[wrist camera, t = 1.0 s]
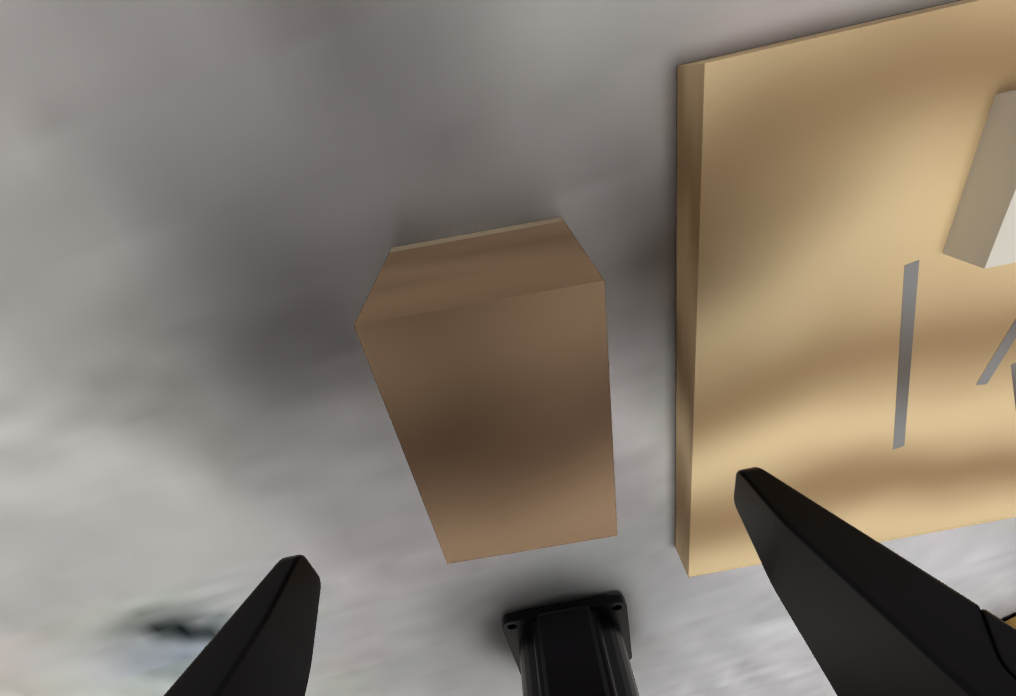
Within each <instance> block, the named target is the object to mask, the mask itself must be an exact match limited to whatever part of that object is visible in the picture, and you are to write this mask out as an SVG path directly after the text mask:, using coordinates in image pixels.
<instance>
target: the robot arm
mask: <svg viewBox="0 0 1016 696" xmlns="http://www.w3.org/2000/svg"><path fill="white" fill-rule="evenodd" d="M734 503H735V506H736V509H737V511H738V513H739V516H740V518H741V520H742V522H743V524H744V526H745V528H746V531H747V533H748V535H749V537H750V539H751V541H752V544H753V546H754V548H755V550H756V552H757V554H758V556H759V559H760V561H761V563H762V565H763V567H764V569H765V571H766V574H767V576H768V578H769V580H770V582H771V584H772V586H773V587H774V589H775V591H776V593H777V594H778V596H779V598H780V600H781V601H782V603H783V605H784V606H785V608H786V610H787V611H788V613H789V615H790V616H791V618H792V620H793V622H794V623H795V625H796V627H797V628H798V630H799V632H800V633H801V635H802V637H803V638H804V640H805V642H806V643H807V645H808V647H809V648H810V650H811V652H812V654H813V655H814V657H815V659H816V660H817V662H818V664H819V665H820V667H821V669H822V670H823V672H824V674H825V675H826V677H827V679H828V680H829V682H830V684H831V686H832V687H833V689H834V691H835V692H836V694H837V696H1016V629H1015V628H1014V627H1012V626H1010V625H1009V624H1007V623H1006V622H1004V621H1002V620H1001V619H999V618H998V617H996V616H995V615H993V614H991V613H990V612H988V611H987V610H984V609H982V610H980V608H979V606H978V605H977V604H975V603H974V602H972V601H971V600H969V599H967V598H966V597H964V596H963V595H961V594H959V593H958V592H956V591H955V590H953V589H952V588H950V587H948V586H947V585H945V584H944V583H942V582H941V581H939V580H937V579H936V578H934V577H933V576H931V575H929V574H928V573H926V572H925V571H923V570H922V569H920V568H918V567H917V566H915V565H914V564H912V563H910V562H909V561H907V560H906V559H904V558H903V557H901V556H899V555H898V554H896V553H895V552H893V551H892V550H890V549H888V548H887V547H885V546H884V545H882V544H880V543H879V542H877V541H876V540H874V539H873V538H871V537H869V536H868V535H866V534H865V533H863V532H862V531H860V530H858V529H857V528H855V527H854V526H852V525H850V524H849V523H847V522H846V521H844V520H843V519H841V518H839V517H838V516H836V515H835V514H833V513H831V512H830V511H828V510H827V509H825V508H824V507H822V506H820V505H819V504H817V503H816V502H814V501H813V500H811V499H809V498H808V497H806V496H805V495H803V494H801V493H800V492H798V491H797V490H795V489H794V488H792V487H790V486H789V485H787V484H786V483H784V482H783V481H781V480H779V479H778V478H776V477H775V476H773V475H771V474H770V473H768V472H767V471H765V470H763V469H762V468H759V467H752V468H747V469H742V470H739V471H738V472H737V473H736V479H735V488H734ZM320 589H321V583H320V578H319V576H318V574H317V573H316V571H315V570H314V568H313V567H312V566H311V564H310V563H309V562H308V560H307V559H306V558H305V556H303V555H295V556H290V557H285V558H283V559H281V560H280V561H279V562H278V563H277V564H276V565H275V566H274V567H273V569H272V570H271V571H270V572H269V573H268V574H267V576H266V577H265V578H264V579H263V580H262V581H261V583H260V584H259V585H258V586H257V587H256V588H255V590H254V591H253V592H252V593H251V594H250V595H249V597H248V598H247V599H246V600H245V601H244V602H243V604H242V605H241V606H240V607H239V608H238V609H237V611H236V612H235V613H234V614H233V615H232V617H231V618H230V619H229V620H228V621H227V622H226V624H225V625H224V626H223V627H222V628H221V629H220V631H219V632H218V633H217V634H216V635H215V636H214V638H213V639H212V640H211V641H210V642H209V643H208V645H207V646H206V647H205V648H204V649H203V650H202V652H201V653H200V654H199V655H198V656H197V657H196V659H195V660H194V661H193V662H192V663H191V664H190V666H189V667H188V668H187V669H186V670H185V671H184V673H183V674H182V675H181V676H180V677H179V678H178V680H177V681H176V682H175V683H174V684H173V685H172V687H171V688H170V689H169V690H168V691H167V692H166V694H165V695H164V696H305V692H306V687H307V683H308V678H309V673H310V668H311V661H312V654H313V646H314V638H315V630H316V622H317V614H318V605H319V597H320ZM502 624H503V631H504V633H505V636H506V638H507V641H508V643H509V646H510V648H511V651H512V653H513V656H514V658H515V661H516V663H517V666H518V668H519V671H520V673H521V677H522V689H523V696H639V693H638V690H637V686H636V682H635V679H634V675H633V671H632V668H631V664H630V661H629V660H630V659H631V658H632V652H631V643H630V633H629V623H628V614H627V605H626V602H625V599H624V596H622V595H610V596H605V597H599V598H594V599H588V600H583V601H577V602H572V603H566V604H561V605H556V606H550V607H545V608H539V609H534V610H528V611H523V612H517V613H512V614H508V615H505V616H504V617H503V618H502Z"/></svg>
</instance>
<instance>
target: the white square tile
mask: <svg viewBox="0 0 1016 696" xmlns="http://www.w3.org/2000/svg"><path fill="white" fill-rule="evenodd" d="M942 254H945V255H948V256H950V257H953V258H956V259H959V260H961V261H964V262H967V263H970V264H973V265H975V266H978V267H981V268H984V269H986V268H990V267H995V266H1000V265H1005V264H1010V263H1015V262H1016V90H1013V91H1008V92H1004V93H999V94H995V97H994V100H993V103H992V106H991V109H990V112H989V115H988V118H987V121H986V124H985V127H984V130H983V133H982V136H981V139H980V142H979V145H978V148H977V151H976V154H975V157H974V160H973V163H972V166H971V169H970V172H969V175H968V178H967V181H966V184H965V187H964V190H963V193H962V196H961V199H960V202H959V205H958V208H957V211H956V214H955V217H954V220H953V223H952V226H951V229H950V232H949V235H948V238H947V241H946V244H945V247H944V250H943V253H942Z"/></svg>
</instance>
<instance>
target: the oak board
mask: <svg viewBox="0 0 1016 696" xmlns="http://www.w3.org/2000/svg"><path fill="white" fill-rule="evenodd" d="M1013 90H1016V0H961V1H957V2H953V3H948V4H944V5H940V6H935V7H931V8H927V9H922V10H918V11H913V12H909V13H905V14H900V15H896V16H892V17H887V18H883V19H879V20H874V21H870V22H866V23H861V24H857V25H853V26H848V27H844V28H840V29H835V30H831V31H826V32H822V33H818V34H813V35H809V36H805V37H800V38H796V39H792V40H787V41H783V42H779V43H774V44H770V45H766V46H761V47H757V48H753V49H748V50H744V51H739V52H735V53H731V54H726V55H722V56H718V57H713V58H709V59H705V60H700V61H696V62H692V63H687V64H683V65H679V66H677V298H676V545H675V548H676V550H677V552H678V554H679V557H680V559H681V561H682V563H683V566H684V568H685V570H686V572H687V575H688V577H692V576H698V575H703V574H709V573H714V572H720V571H725V570H731V569H736V568H741V567H747V566H752V565H758V564H762V563H761V561H760V559H759V556H758V554H757V552H756V550H755V548H754V546H753V544H752V541H751V539H750V537H749V535H748V533H747V531H746V528H745V526H744V524H743V522H742V520H741V518H740V516H739V513H738V511H737V509H736V506H735V503H734V488H735V479H736V473H737V472H738V471H739V470H742V469H747V468H752V467H759V468H762V469H763V470H765V471H767V472H768V473H770V474H771V475H773V476H775V477H776V478H778V479H779V480H781V481H783V482H784V483H786V484H787V485H789V486H790V487H792V488H794V489H795V490H797V491H798V492H800V493H801V494H803V495H805V496H806V497H808V498H809V499H811V500H813V501H814V502H816V503H817V504H819V505H820V506H822V507H824V508H825V509H827V510H828V511H830V512H831V513H833V514H835V515H836V516H838V517H839V518H841V519H843V520H844V521H846V522H847V523H849V524H850V525H852V526H854V527H855V528H857V529H858V530H860V531H862V532H863V533H865V534H866V535H868V536H869V537H871V538H873V539H874V540H876V541H877V542H883V541H888V540H894V539H899V538H905V537H910V536H916V535H921V534H926V533H932V532H937V531H943V530H948V529H954V528H959V527H964V526H970V525H975V524H981V523H986V522H992V521H997V520H1003V519H1008V518H1013V517H1016V262H1015V263H1010V264H1005V265H1000V266H995V267H990V268H986V269H984V268H981V267H978V266H975V265H973V264H970V263H967V262H964V261H961V260H959V259H956V258H953V257H950V256H948V255H945V254H942V253H943V250H944V247H945V244H946V241H947V238H948V235H949V232H950V229H951V226H952V223H953V220H954V217H955V214H956V211H957V208H958V205H959V202H960V199H961V196H962V193H963V190H964V187H965V184H966V181H967V178H968V175H969V172H970V169H971V166H972V163H973V160H974V157H975V154H976V151H977V148H978V145H979V142H980V139H981V136H982V133H983V130H984V127H985V124H986V121H987V118H988V115H989V112H990V109H991V106H992V103H993V100H994V97H995V94H999V93H1004V92H1008V91H1013Z"/></svg>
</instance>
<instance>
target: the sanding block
mask: <svg viewBox="0 0 1016 696" xmlns="http://www.w3.org/2000/svg"><path fill="white" fill-rule="evenodd" d="M354 327H355V329H356V332H357V334H358V337H359V340H360V342H361V345H362V347H363V350H364V352H365V355H366V357H367V360H368V362H369V365H370V368H371V370H372V373H373V375H374V378H375V380H376V383H377V385H378V388H379V391H380V393H381V396H382V398H383V401H384V403H385V406H386V408H387V411H388V413H389V416H390V419H391V421H392V424H393V426H394V429H395V431H396V434H397V436H398V439H399V441H400V444H401V447H402V449H403V452H404V454H405V457H406V459H407V462H408V464H409V467H410V469H411V472H412V475H413V477H414V480H415V482H416V485H417V487H418V490H419V492H420V495H421V497H422V500H423V503H424V505H425V508H426V510H427V513H428V515H429V518H430V520H431V523H432V525H433V528H434V531H435V533H436V536H437V538H438V541H439V543H440V546H441V548H442V551H443V553H444V556H445V559H446V561H447V564H449V563H455V562H461V561H467V560H473V559H479V558H485V557H491V556H497V555H503V554H509V553H515V552H521V551H527V550H533V549H539V548H545V547H551V546H557V545H563V544H569V543H575V542H581V541H587V540H593V539H599V538H605V537H611V536H617V518H616V499H615V479H614V459H613V439H612V420H611V400H610V380H609V361H608V341H607V321H606V301H605V282H604V279H603V278H602V276H601V275H600V273H599V272H598V270H597V269H596V268H595V266H594V265H593V263H592V262H591V260H590V259H589V257H588V256H587V254H586V253H585V251H584V250H583V248H582V247H581V245H580V244H579V243H578V241H577V240H576V238H575V237H574V235H573V234H572V232H571V231H570V229H569V228H568V226H567V225H566V223H565V222H564V220H563V219H562V218H561V217H557V218H552V219H546V220H541V221H535V222H530V223H524V224H519V225H513V226H508V227H502V228H497V229H491V230H486V231H480V232H475V233H469V234H464V235H458V236H453V237H448V238H442V239H437V240H431V241H426V242H420V243H415V244H409V245H404V246H398V247H393V248H392V249H391V251H390V253H389V255H388V257H387V259H386V261H385V263H384V265H383V267H382V269H381V271H380V273H379V275H378V277H377V279H376V281H375V283H374V285H373V287H372V290H371V292H370V294H369V296H368V298H367V300H366V302H365V304H364V306H363V308H362V310H361V312H360V314H359V316H358V318H357V320H356V322H355V324H354Z"/></svg>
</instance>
